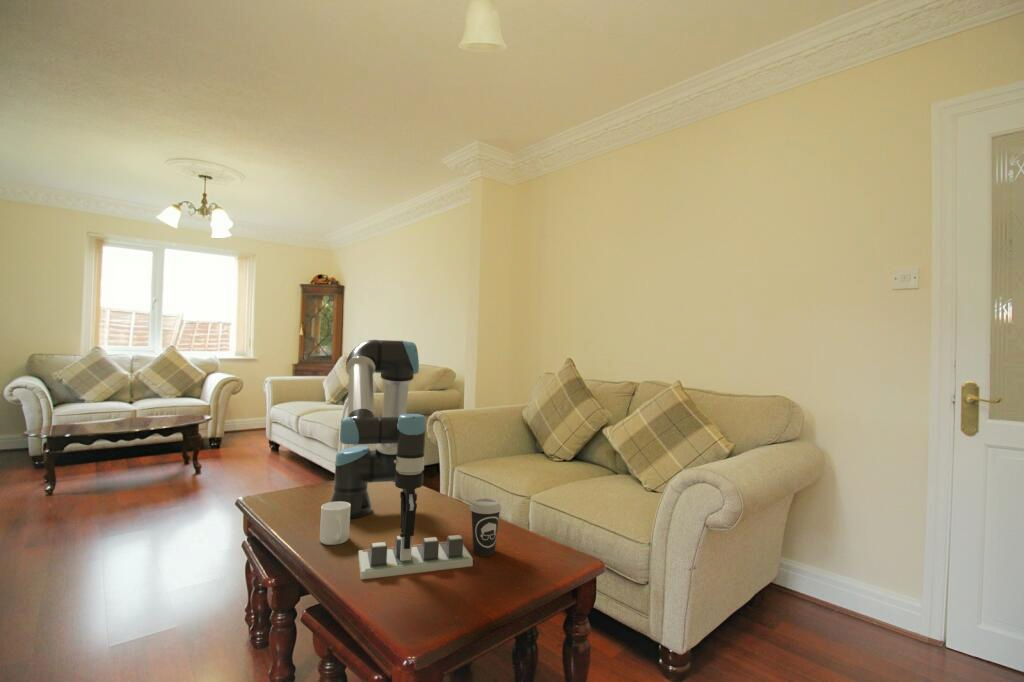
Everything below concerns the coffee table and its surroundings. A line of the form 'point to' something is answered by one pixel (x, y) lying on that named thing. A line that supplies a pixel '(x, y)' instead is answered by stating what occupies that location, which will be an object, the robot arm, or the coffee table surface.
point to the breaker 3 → (430, 548)
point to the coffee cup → (485, 525)
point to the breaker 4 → (454, 545)
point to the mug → (335, 523)
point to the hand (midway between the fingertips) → (405, 559)
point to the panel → (411, 562)
